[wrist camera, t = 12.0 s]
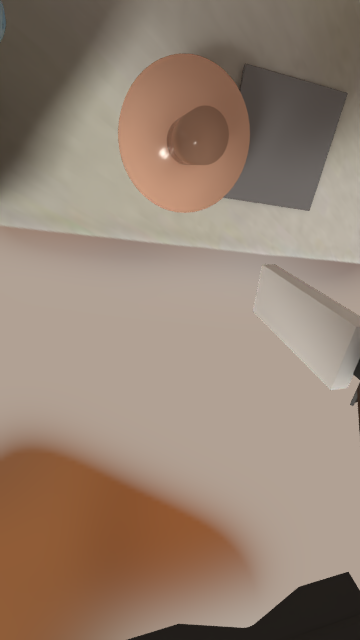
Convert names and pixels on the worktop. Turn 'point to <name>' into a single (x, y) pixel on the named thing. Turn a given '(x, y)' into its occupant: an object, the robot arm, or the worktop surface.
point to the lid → (184, 133)
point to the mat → (285, 138)
